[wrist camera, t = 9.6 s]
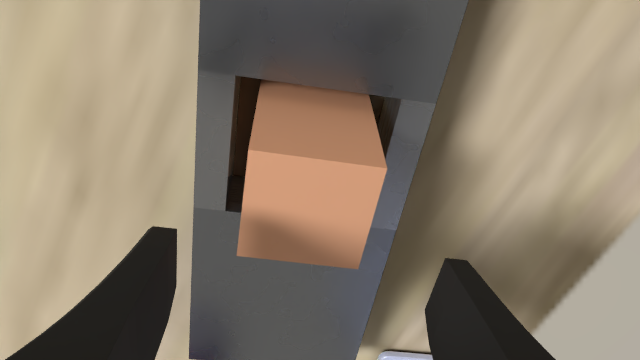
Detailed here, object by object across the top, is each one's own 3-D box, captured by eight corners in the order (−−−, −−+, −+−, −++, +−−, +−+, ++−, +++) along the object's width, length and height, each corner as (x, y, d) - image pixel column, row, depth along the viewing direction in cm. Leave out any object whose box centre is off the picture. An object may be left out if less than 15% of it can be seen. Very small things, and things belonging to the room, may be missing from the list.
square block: (346, 171, 22) (358, 269, 17) (252, 158, 21) (236, 256, 16) (366, 84, 20) (387, 168, 15) (263, 69, 19) (248, 149, 14)
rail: (348, 331, 28) (351, 371, 25) (198, 318, 27) (189, 358, 25) (509, -229, 14) (544, -240, 12) (224, -291, 14) (210, -315, 11)
